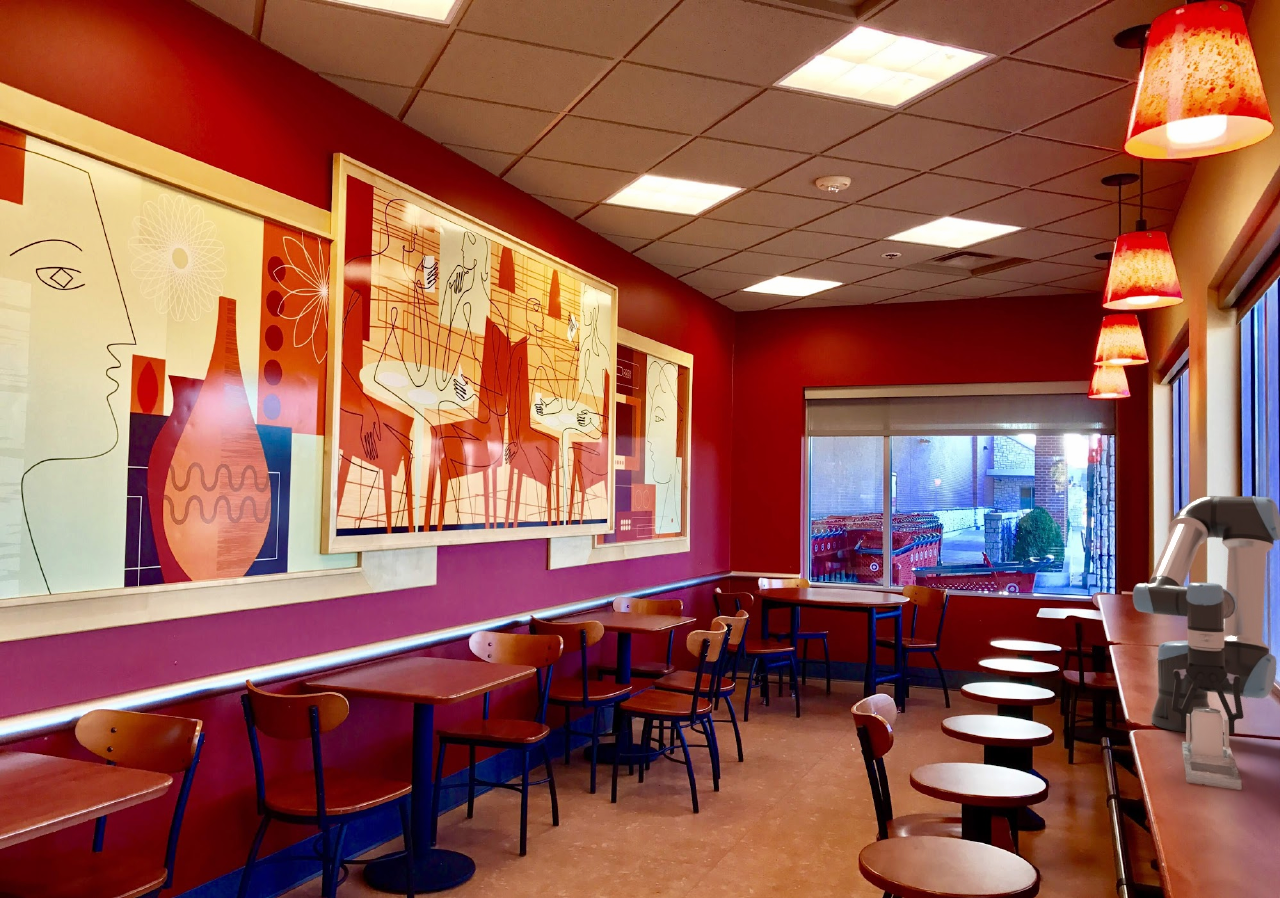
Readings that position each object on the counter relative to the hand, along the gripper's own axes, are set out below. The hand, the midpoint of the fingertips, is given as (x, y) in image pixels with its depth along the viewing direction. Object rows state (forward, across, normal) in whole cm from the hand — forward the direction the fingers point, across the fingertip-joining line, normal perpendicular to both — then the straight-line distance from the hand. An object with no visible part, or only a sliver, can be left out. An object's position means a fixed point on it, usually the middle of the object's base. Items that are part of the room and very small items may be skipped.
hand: (1207, 744), depth 216 cm
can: (+4, 0, 0) cm, 4 cm away
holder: (+4, 0, -8) cm, 9 cm away
